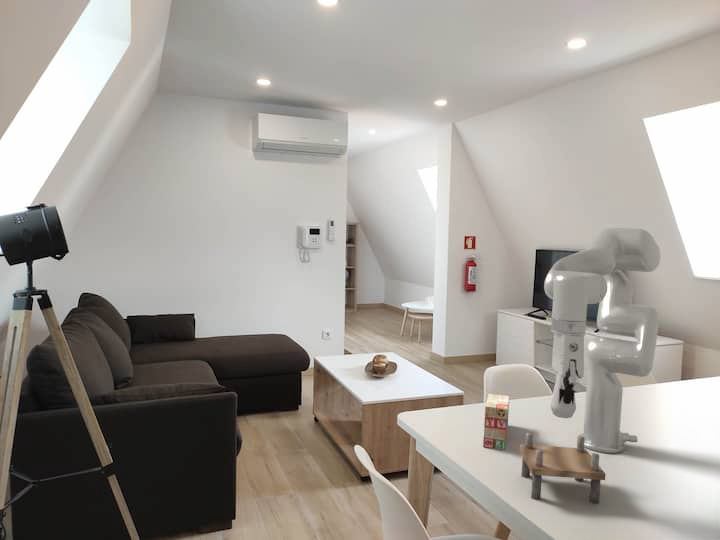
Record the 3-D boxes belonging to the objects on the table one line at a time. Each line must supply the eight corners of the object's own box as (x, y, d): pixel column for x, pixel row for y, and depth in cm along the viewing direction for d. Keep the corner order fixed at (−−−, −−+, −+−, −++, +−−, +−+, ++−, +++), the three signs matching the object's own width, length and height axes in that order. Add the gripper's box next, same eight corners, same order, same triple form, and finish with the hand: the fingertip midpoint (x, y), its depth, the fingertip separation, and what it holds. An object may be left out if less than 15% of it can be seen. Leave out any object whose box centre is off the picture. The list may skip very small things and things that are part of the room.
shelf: (583, 477, 134) (586, 435, 133) (603, 506, 120) (606, 458, 119) (518, 472, 135) (520, 430, 135) (530, 500, 122) (533, 453, 121)
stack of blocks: (487, 422, 171) (489, 385, 171) (508, 425, 170) (510, 387, 169) (482, 447, 151) (485, 405, 150) (505, 451, 149) (508, 408, 148)
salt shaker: (545, 411, 129) (548, 358, 128) (568, 411, 130) (571, 358, 129) (556, 419, 123) (559, 364, 122) (580, 419, 124) (583, 364, 123)
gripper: (597, 334, 116) (591, 416, 118) (574, 321, 133) (569, 394, 134) (561, 332, 117) (556, 414, 118) (543, 320, 133) (538, 392, 135)
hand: (563, 402), depth 126 cm, fingers closed on salt shaker, 3 cm apart
